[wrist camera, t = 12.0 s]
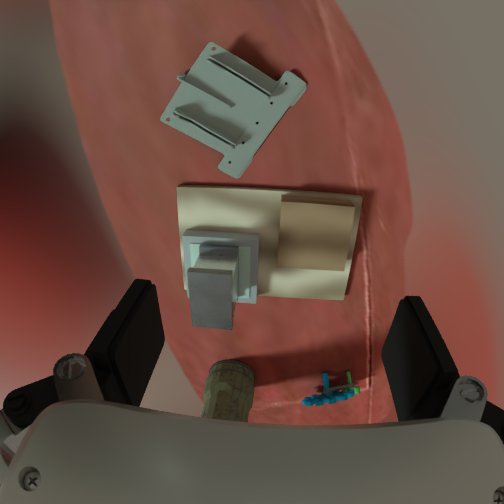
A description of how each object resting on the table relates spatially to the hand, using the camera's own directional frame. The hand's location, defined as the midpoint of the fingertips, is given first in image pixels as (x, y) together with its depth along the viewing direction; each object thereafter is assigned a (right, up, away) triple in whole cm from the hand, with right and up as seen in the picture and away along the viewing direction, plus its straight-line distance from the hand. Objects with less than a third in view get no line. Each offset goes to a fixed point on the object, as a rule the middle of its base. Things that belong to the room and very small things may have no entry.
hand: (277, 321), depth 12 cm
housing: (-5, 0, +31) cm, 32 cm away
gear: (+14, -22, +45) cm, 53 cm away
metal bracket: (-4, +21, +25) cm, 32 cm away
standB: (-5, +1, +33) cm, 34 cm away
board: (+1, +4, +32) cm, 33 cm away
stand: (+7, +5, +30) cm, 31 cm away
